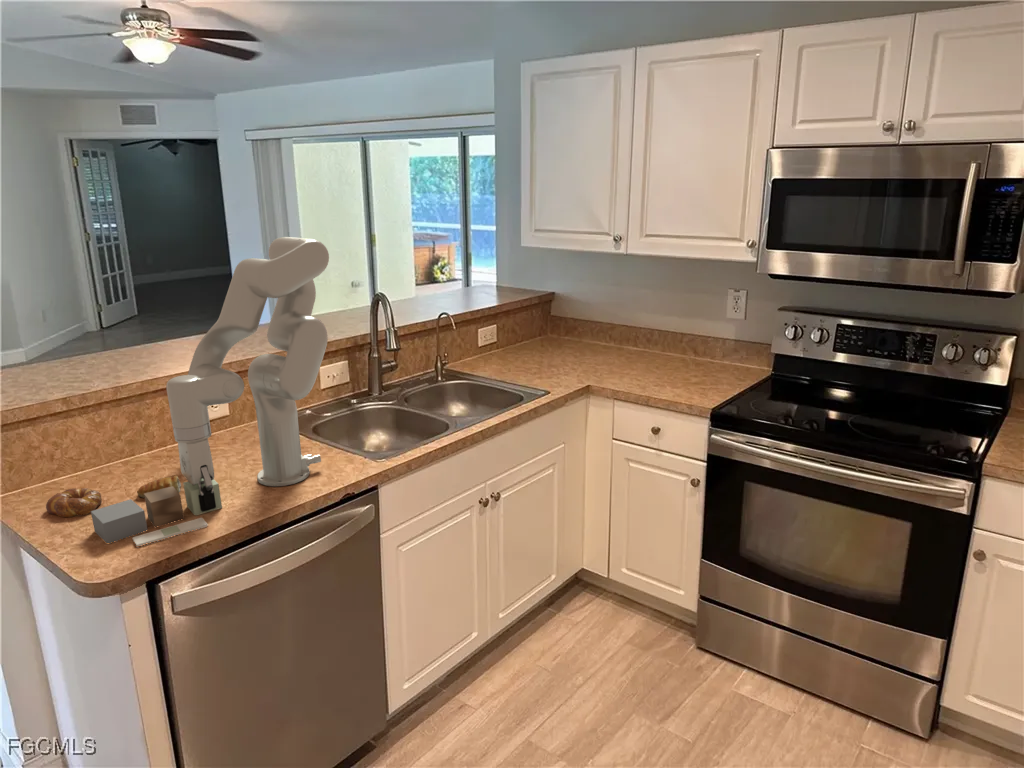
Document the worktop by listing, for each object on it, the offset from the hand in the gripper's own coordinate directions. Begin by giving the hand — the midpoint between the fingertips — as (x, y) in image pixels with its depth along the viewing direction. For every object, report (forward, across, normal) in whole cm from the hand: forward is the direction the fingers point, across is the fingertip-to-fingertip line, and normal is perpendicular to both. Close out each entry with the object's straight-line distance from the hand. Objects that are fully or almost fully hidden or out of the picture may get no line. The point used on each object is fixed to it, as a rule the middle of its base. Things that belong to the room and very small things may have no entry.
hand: (203, 503), depth 162 cm
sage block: (+1, 0, 0) cm, 1 cm away
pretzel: (+1, -19, -23) cm, 30 cm away
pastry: (+1, -15, -5) cm, 16 cm away
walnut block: (+1, 0, -8) cm, 8 cm away
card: (+1, +8, -9) cm, 12 cm away
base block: (+1, 0, -17) cm, 17 cm away
